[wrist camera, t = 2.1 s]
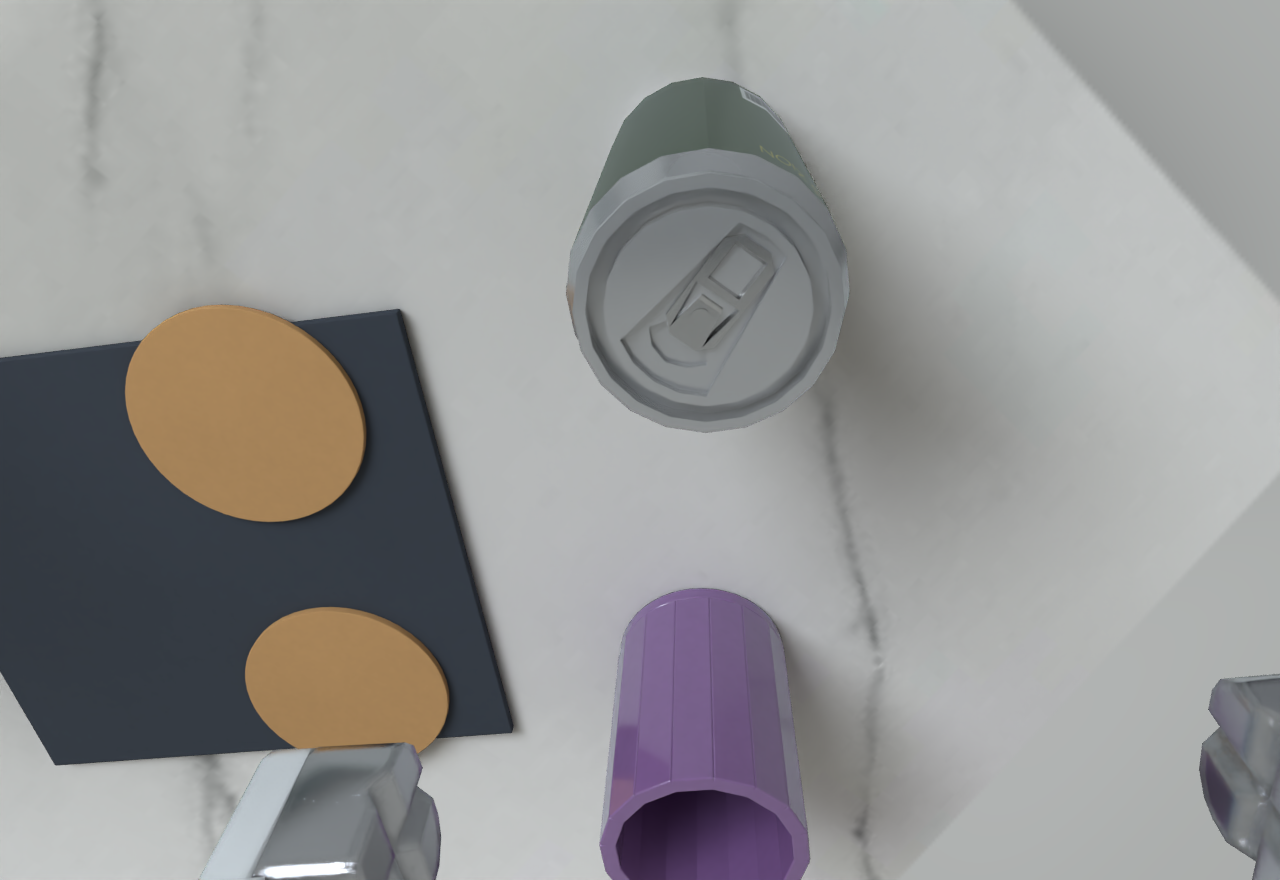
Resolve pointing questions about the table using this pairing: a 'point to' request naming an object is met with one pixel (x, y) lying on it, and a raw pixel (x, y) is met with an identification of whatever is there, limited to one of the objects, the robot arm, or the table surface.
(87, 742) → the placemat
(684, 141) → the beer can
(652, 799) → the purple cup
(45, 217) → the table surface
